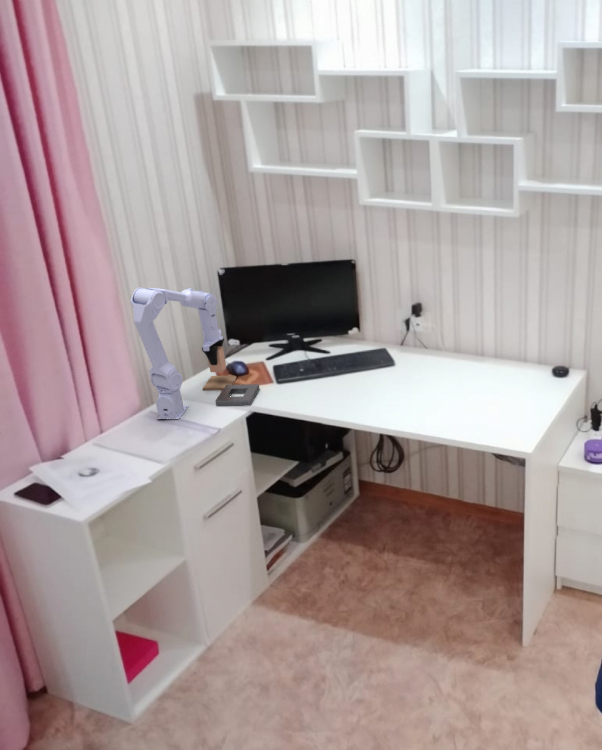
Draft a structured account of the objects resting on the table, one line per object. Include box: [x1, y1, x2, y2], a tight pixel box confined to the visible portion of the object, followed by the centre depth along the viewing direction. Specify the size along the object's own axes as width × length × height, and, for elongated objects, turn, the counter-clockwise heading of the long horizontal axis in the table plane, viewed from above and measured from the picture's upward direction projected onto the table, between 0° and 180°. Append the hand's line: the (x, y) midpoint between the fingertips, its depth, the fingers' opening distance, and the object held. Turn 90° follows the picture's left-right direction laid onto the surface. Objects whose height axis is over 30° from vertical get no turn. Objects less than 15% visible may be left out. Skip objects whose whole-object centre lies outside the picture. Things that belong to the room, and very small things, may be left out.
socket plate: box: [215, 383, 261, 407], centre depth 298 cm, size 12×12×2 cm
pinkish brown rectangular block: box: [207, 345, 227, 373], centre depth 307 cm, size 4×4×8 cm
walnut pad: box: [202, 375, 238, 391], centre depth 311 cm, size 10×10×1 cm
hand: (216, 361), depth 307 cm, fingers closed on pinkish brown rectangular block, 4 cm apart
